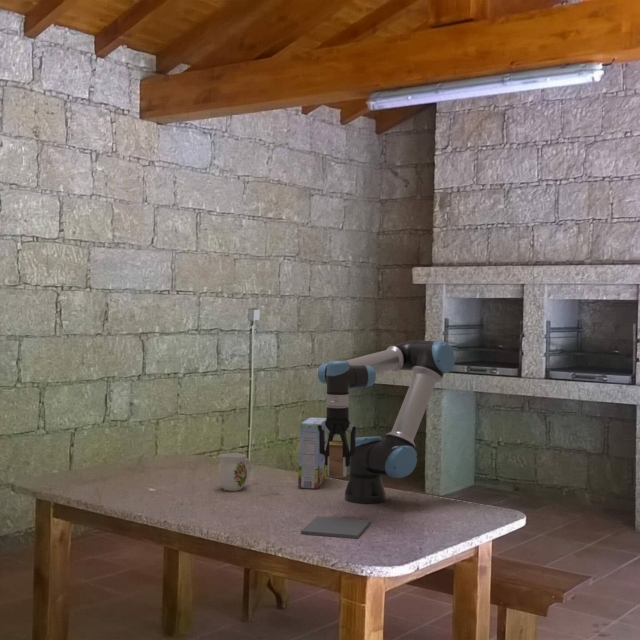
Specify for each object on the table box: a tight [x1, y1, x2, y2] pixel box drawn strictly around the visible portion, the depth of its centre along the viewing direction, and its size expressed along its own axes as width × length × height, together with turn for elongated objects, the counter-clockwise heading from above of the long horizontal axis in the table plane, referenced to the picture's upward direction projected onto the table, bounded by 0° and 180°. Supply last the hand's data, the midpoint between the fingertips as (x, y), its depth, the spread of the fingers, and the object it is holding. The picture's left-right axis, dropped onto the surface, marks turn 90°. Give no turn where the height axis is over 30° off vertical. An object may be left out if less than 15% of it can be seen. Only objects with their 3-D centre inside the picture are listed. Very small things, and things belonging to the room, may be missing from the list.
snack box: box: [297, 417, 329, 490], centre depth 347 cm, size 22×9×26 cm, turn 171°
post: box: [328, 439, 345, 479], centre depth 292 cm, size 4×4×12 cm
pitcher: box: [217, 452, 252, 492], centre depth 335 cm, size 11×18×14 cm, turn 143°
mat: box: [300, 516, 371, 540], centre depth 276 cm, size 20×18×1 cm
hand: (337, 475), depth 292 cm, fingers closed on post, 4 cm apart
